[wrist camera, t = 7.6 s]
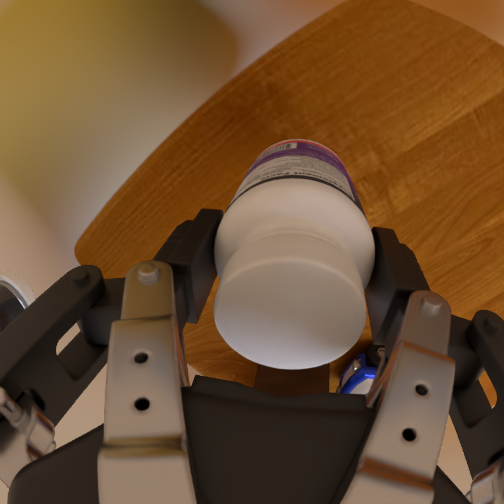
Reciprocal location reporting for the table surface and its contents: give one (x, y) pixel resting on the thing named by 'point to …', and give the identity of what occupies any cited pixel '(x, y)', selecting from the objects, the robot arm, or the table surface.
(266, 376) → the tall grey box
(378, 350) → the toy car
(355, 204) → the pill bottle
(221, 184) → the table surface
